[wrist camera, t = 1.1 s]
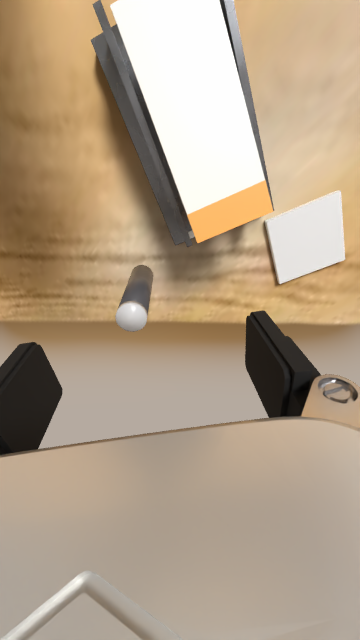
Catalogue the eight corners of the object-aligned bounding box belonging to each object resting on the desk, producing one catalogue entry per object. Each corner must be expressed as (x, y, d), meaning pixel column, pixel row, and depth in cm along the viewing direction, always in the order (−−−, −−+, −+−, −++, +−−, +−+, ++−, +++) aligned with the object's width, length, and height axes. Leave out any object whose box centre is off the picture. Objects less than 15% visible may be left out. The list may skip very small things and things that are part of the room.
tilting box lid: (114, 19, 18) (109, 5, 17) (204, -36, 17) (205, -55, 16) (197, 242, 24) (197, 243, 22) (269, 212, 23) (273, 211, 21)
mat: (336, 190, 30) (340, 190, 29) (341, 257, 34) (345, 259, 34) (264, 220, 31) (266, 221, 31) (277, 281, 36) (279, 284, 35)
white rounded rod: (147, 261, 33) (137, 300, 23) (156, 281, 35) (151, 325, 24) (127, 270, 34) (109, 311, 23) (137, 288, 35) (125, 335, 25)
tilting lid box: (96, 50, 23) (70, 5, 17) (217, -23, 21) (237, -102, 15) (175, 241, 32) (176, 256, 26) (264, 203, 30) (289, 209, 24)
